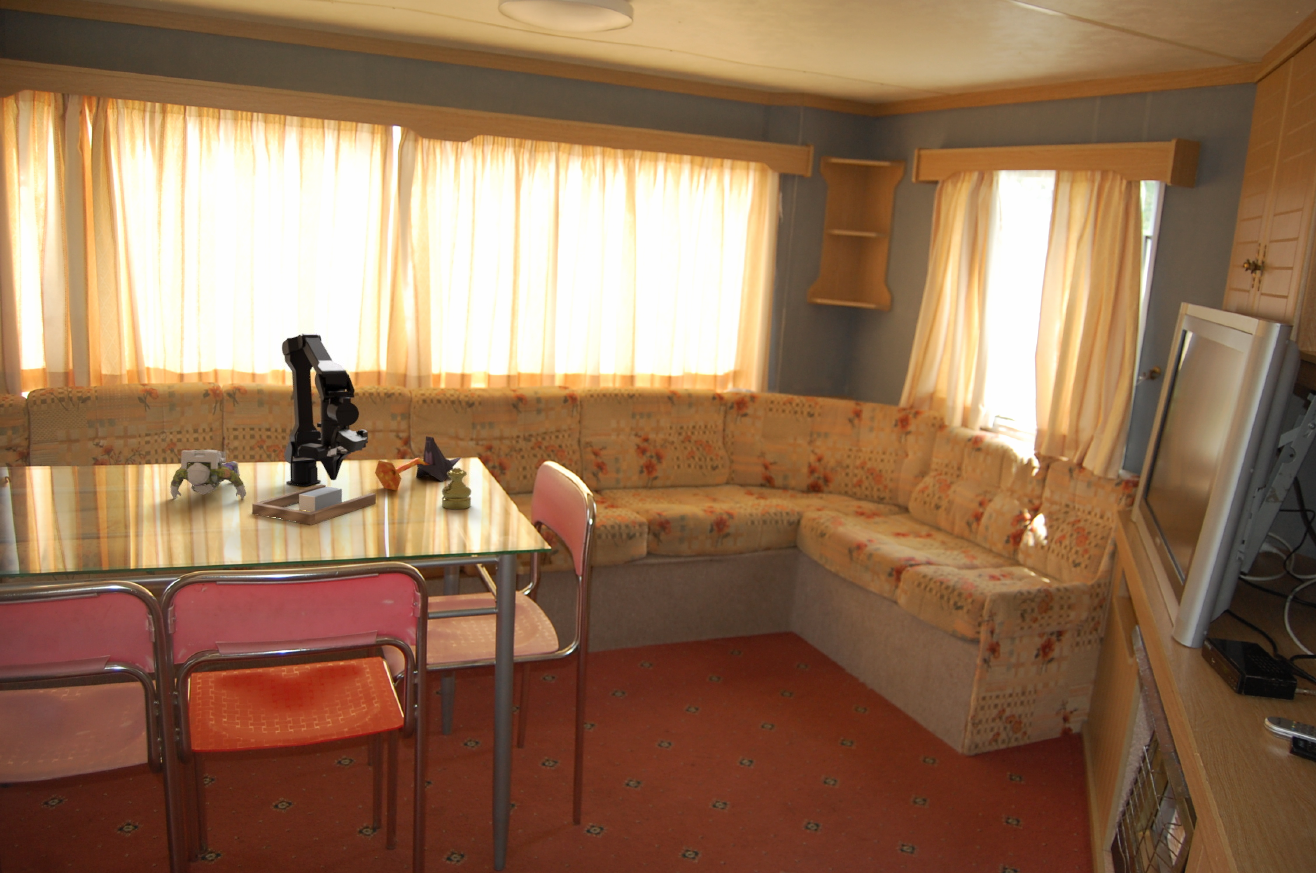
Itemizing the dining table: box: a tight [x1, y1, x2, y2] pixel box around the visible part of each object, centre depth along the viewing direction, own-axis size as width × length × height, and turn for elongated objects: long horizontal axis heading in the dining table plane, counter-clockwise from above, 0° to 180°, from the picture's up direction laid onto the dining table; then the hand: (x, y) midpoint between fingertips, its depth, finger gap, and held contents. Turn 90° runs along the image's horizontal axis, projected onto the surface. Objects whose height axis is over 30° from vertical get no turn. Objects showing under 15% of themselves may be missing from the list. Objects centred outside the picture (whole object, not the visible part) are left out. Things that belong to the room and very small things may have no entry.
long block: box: [298, 485, 343, 512], centre depth 230 cm, size 4×4×10 cm
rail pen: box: [251, 484, 377, 526], centre depth 228 cm, size 18×24×2 cm
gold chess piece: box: [441, 467, 472, 510], centre depth 237 cm, size 7×7×10 cm
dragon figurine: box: [374, 435, 462, 492], centre depth 260 cm, size 10×12×25 cm
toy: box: [170, 449, 247, 500], centre depth 234 cm, size 18×12×30 cm
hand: (333, 479), depth 233 cm, fingers closed
